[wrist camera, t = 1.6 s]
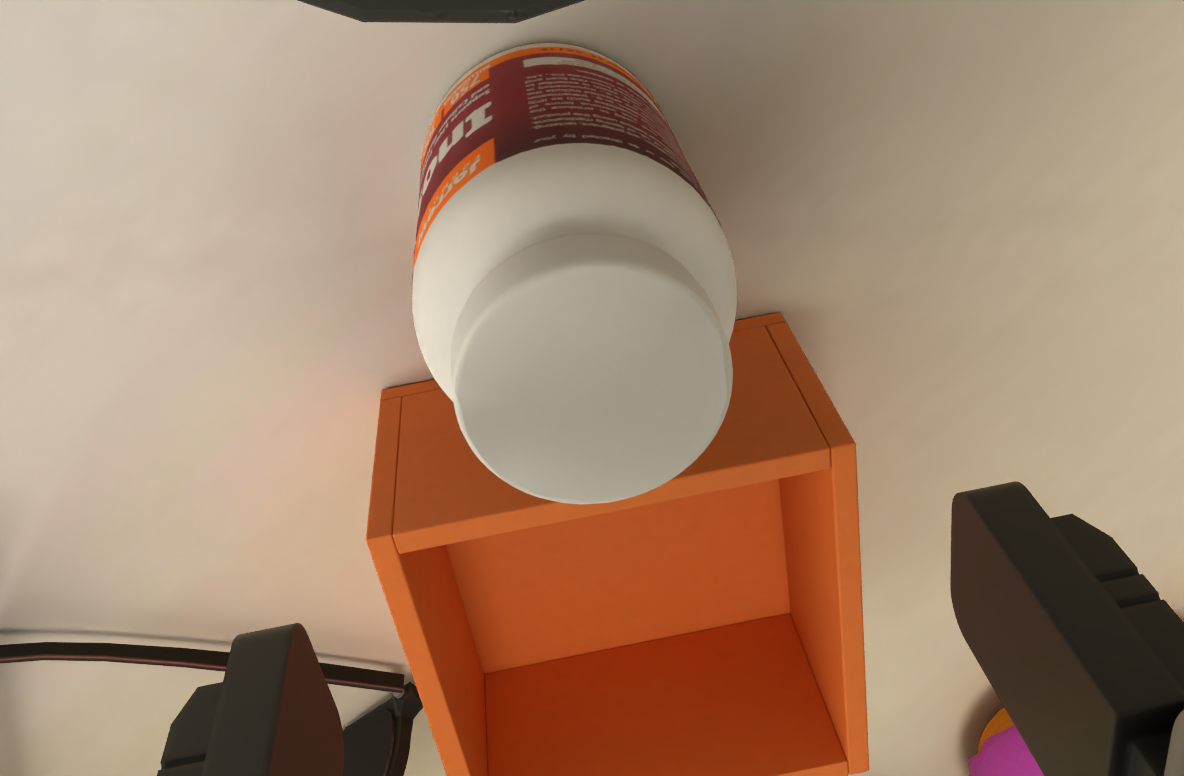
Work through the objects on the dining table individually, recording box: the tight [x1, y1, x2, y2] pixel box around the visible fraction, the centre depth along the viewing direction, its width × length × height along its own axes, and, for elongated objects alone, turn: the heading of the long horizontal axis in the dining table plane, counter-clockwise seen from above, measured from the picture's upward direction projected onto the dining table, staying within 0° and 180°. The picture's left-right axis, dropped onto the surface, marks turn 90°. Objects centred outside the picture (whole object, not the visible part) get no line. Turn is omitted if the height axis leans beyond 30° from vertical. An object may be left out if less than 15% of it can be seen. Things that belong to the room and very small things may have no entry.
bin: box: [366, 312, 869, 776], centre depth 30 cm, size 11×11×7 cm
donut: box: [968, 707, 1044, 776], centre depth 39 cm, size 10×10×5 cm
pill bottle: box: [412, 43, 737, 504], centre depth 23 cm, size 6×6×11 cm
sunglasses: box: [0, 642, 423, 776], centre depth 32 cm, size 17×14×5 cm
